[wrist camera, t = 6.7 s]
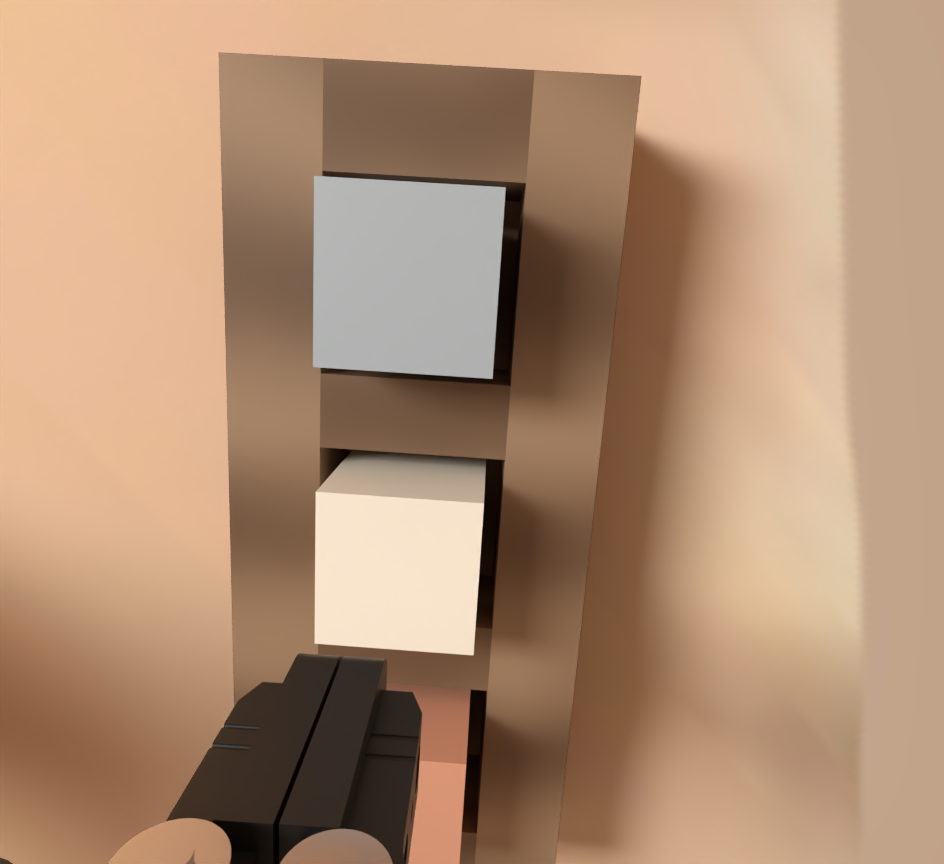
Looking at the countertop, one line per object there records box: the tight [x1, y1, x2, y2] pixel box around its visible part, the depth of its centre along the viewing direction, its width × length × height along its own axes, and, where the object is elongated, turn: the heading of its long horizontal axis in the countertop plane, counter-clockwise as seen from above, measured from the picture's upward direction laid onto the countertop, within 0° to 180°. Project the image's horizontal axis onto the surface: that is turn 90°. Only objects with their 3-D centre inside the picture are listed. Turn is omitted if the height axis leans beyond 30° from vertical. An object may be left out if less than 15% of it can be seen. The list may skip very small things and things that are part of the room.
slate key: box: [313, 176, 506, 379], centre depth 16 cm, size 4×4×4 cm
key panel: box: [219, 52, 641, 864], centre depth 20 cm, size 24×10×4 cm, turn 176°
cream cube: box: [315, 450, 486, 655], centre depth 17 cm, size 4×4×4 cm
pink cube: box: [386, 683, 471, 864], centre depth 19 cm, size 4×4×4 cm
